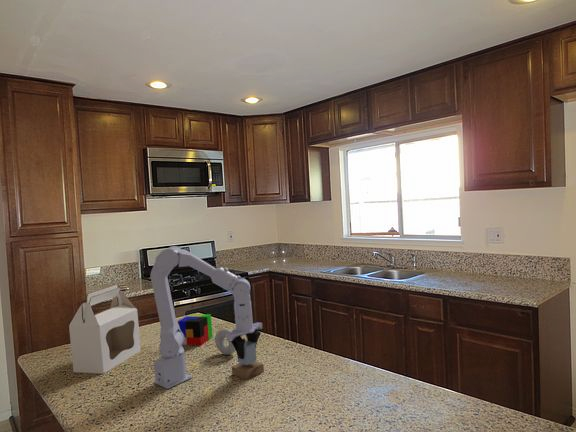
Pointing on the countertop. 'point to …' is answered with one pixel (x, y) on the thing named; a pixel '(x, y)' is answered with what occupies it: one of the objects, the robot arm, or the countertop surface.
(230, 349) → the donut
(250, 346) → the grey block
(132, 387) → the countertop surface
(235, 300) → the robot arm
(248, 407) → the countertop surface
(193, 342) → the puzzle toy
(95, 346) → the gable box
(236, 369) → the walnut block
